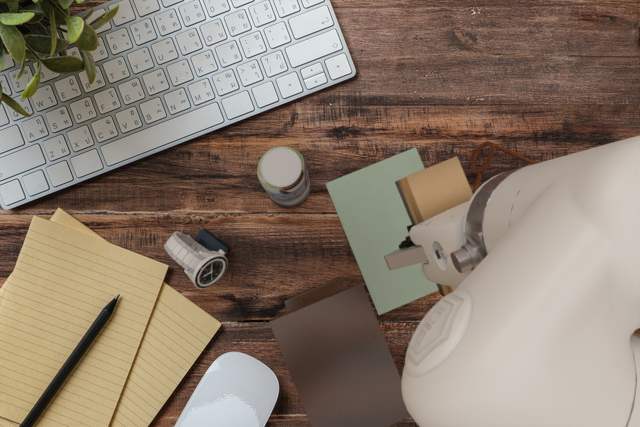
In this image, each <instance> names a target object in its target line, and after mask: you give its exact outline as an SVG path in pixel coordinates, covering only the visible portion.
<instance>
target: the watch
mask: <svg viewBox="0 0 640 427" xmlns="http://www.w3.org/2000/svg"><path fill="white" fill-rule="evenodd" d="M163 247H164V248H163V249H164V250H165V251H166V253H167V254H168V256H169V257H171V259H172V260H174V261H175V262H176V263H177V264H178V265H179V266H181V267H182V268H183V269H184V270H183V272H184V273H185V275H186V276H187V277H188V279H189V280H190V281H191V282H192V284H193V285H194V286H195V288H197V289H199V290H203V289H208V288H210V287H212V286H214V285H216V283H218V282H219V281H220V280H221V279H222V278H223V277H224V275H225V273H226V272H227V270H228V266H229V265H228V264H229V263H228V262H229V260H228V258H227V257H226V255H227V254H228V252H229V251H230V250H231V249H232V248H231V247H230V246H229V245H228V244H226V243H225V241H223V240H221V239H220V238H219V237H217V235H215V234H214V233H213V232H211V231H210V230H209V229H207V228H202V229H201V230H200V231H199V232H198V234H196V236H195V237H194V238H193V237H191V236H190V234H188V235H187V234H186V233H183V232H181V231H178V230H176V231H174V232H173V233H172V234H171V236H170V237H169V238H168V239H167V241H166V242H165V243H164V244H163Z"/></svg>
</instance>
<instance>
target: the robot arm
mask: <svg viewBox="0 0 640 427" xmlns="http://www.w3.org/2000/svg"><path fill="white" fill-rule="evenodd" d="M407 230H408V232H409V233H408V234H409V236H407V237H405V239H406V240H404V241H402V242H401V244H400V245H399V249H397V250H394V251H393V252H391V253H389V254H387V255H385V256H384V258H385V261H386V263H387V265H388V268H389V270H393V269H397V268H401V267H406V266H410V265H414V264H418V263H422V262H427V261H428V262H429V263H423V264H422V268H421V269H422V271H423V273H424V275H425V277H426V279H427V280H429V281H431V282H434V283H437V284H442V285H447V286H454V287H457V288H456V289H455V291H454V292H451V293H449V294H448V295H446V296H445V297H444V296H442V298H441V299H440V300H438V301H437V302H436V303H435V304H434V305H433V306H432V307H431V308H430V309H429V310H428V311H427V313H426V314H425V315H424V316H423V318H422V319H421V320H420V322H419V324H418V325H417V326H416V328H415V330H414V332H413V334H412V336H411V339H410V341H409V343H408V345H407V349H406V351H405V357H404V366H403V369H402V375H401V379H402V381H401V388H402V396H403V401H404V403H405V406H406V408H407V411H408V412H409V414H410V415H411V418H412V419H413V421H414V422H415V423H416V425H417V426H418V427H640V337H638V336H637V335H634V332H636V331H637V330H639V329H640V134H639V135H636V136H632V137H628V138H625V139H621V140H616V141H613V142H609V143H606V144H603V145H599V146H595V147H591V148H588V149H584V150H580V151H577V152H573V153H570V154H567V155H563V156H559V157H555V158H552V159H548V160H544V161H541V162H539V163H537V164H530V165H526V166H522V167H519V168H515V169H510V170H508V171H505V172H502V173H499V174H496V175H494V176H492V177H491V178H489V179H488V180H486V181H484V182H483V183H482V184H481V185H479V187H478V189H477V190H476V192H475V193H474V194H473V196H472V197H471V199H470V201H467V202H465V203H463V204H460V205H458V206H456V207H453V208H451V209H449V210H447V211H445V212H442V213H440V214H438V215H436V216H434V217H432V218H430V219H427V220H425V221H423V222H421V223H419V224H412V225H409V226H407Z"/></svg>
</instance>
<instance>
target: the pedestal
mask: <svg viewBox="0 0 640 427" xmlns="http://www.w3.org/2000/svg"><path fill="white" fill-rule="evenodd" d="M283 303H284V306H285V309H286V311H287V312H284V313H282V314H280V315H277V316H275V317H272V318H270V319H269V321H268V322H269V326H270V329H271V332H272V334H273V336H274V339H275V340H276V344H277V345H278V348H279V351H280V353H281V355H282V358H283V361H284V363H285V365H286V368H287V370H288V373H289V376H290V378H291V380H292V383H293V385H294V388H295V390H296V393H297V396H298V398H299V400H300V403H301V406H302V408H303V410H304V413H305V415H306V418H307V421H308V423H309V425H310V427H390V426H392V425H395V424H398V423H400V422H402V421H404V420H407V419H409V418H412V416H411V415H410V414H409V412H408V411H407V408H406V406H405V403H404V401H403V396H402V388H401V381H402V376H401V374H400V371H399V369H398V367H397V364H396V362H395V359H394V357H393V355H392V352H391V350H390V347H389V345H388V343H387V339H386V338H385V335H384V332H383V330H382V327H381V325H380V323H379V320H378V318H377V316H376V313H375V310H374V308H373V306H372V303H371V300H370V298H369V295H368V293H367V290H366V288H365V286H364V283H362V282H361V281H359V282H356V283H354V284H352V285H350V286H349V285H348V283H347V280H346V277H345V276H344V275H342V276H340V277H337V278H334V279H332V280H329V281H327V282H325V283H322V284H319V285H317V286H315V287H313V288H310V289H308V290H305V291H303V292H301V293H298V294H296V295H293V296H291V297H288V298H286V299H284V300H283Z"/></svg>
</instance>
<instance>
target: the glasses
mask: <svg viewBox="0 0 640 427" xmlns="http://www.w3.org/2000/svg"><path fill="white" fill-rule="evenodd" d="M486 147H489V154H488V157H487V159H486V161H485V163H484V164H483V165H481V167H480V168H476V162H477V158H478V157H479V155H480V153H481V151H482V150H483V149H484V148H486ZM495 149H496V150H499V151H501V152H503V153H505V154H507V155H510V156H512V157H514V158H517V159H519V160H521V161H523V162H525V163H529V164H530V165H533V164H537V163H540V162H538V161H536V160H534V159H531V158H529V157H526V156H525V155H522V154H520V153H517V152H515V151H513V150H510V149H508V148H506V147H503V146H501V145H499V144H497V143H494V142H492V141H490V140H485V141H483V142H481V143H480V144H479V146H478V147H477V148H476V149H475V151H474V153H473V155H472V157H471V161H470V171H471V172H472V173H474V174H476V179H475V182H474V185H473V188H472V190H471V191H472V193H473V194H474V193H475V192H476V190H477V189H478V188H479V187H480V184H481V181H482V175H483V174H484V172H486V170H487V169H488V168H489V166H490V164H491V163H492V161H493V159H494V156H495V151H496V150H495Z"/></svg>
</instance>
